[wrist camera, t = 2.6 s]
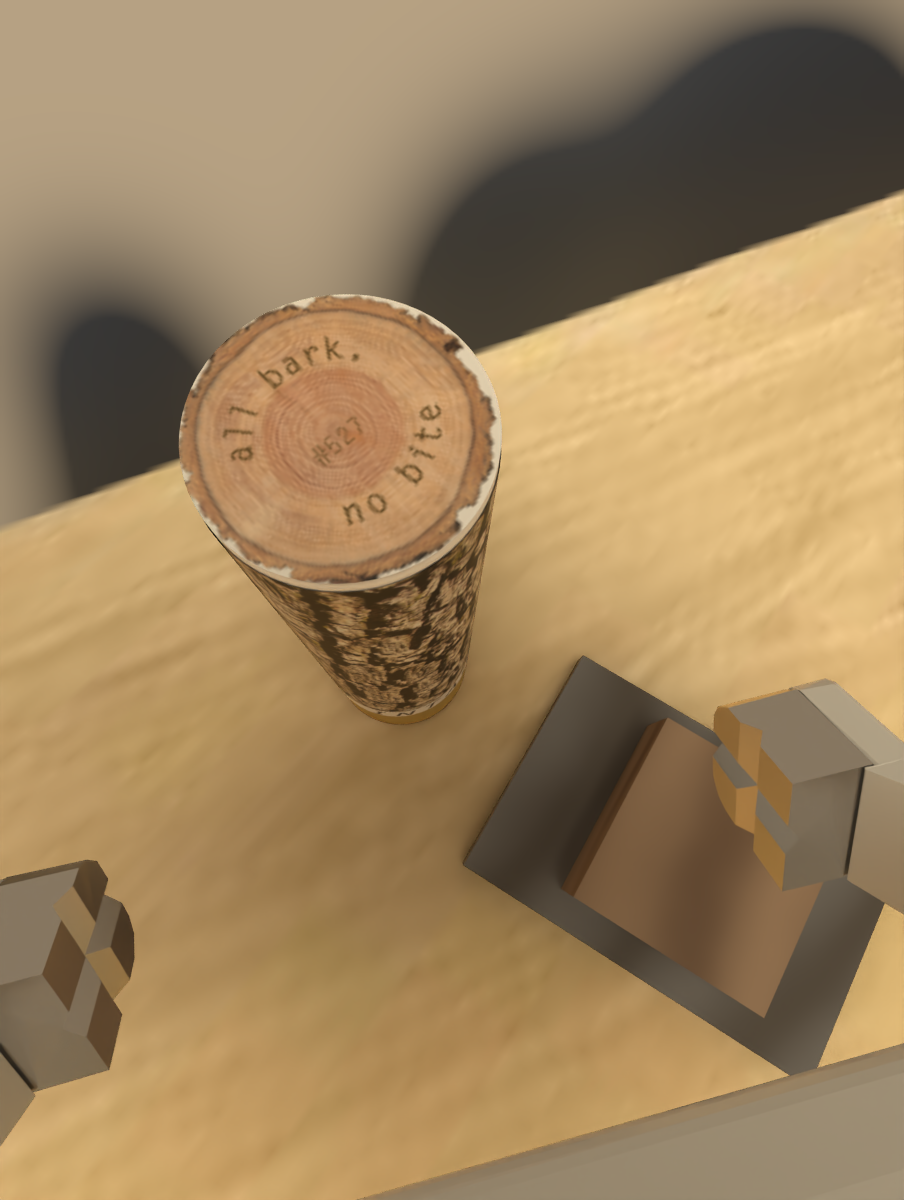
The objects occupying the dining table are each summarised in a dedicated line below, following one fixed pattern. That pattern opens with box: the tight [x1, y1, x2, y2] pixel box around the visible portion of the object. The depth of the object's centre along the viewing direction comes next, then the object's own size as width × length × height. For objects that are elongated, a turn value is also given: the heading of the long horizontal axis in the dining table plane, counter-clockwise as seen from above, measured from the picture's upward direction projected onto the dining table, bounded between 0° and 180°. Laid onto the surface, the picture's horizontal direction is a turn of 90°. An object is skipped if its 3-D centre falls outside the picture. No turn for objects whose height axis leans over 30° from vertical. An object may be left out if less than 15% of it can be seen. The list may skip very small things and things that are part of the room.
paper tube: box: [179, 294, 502, 724], centre depth 27 cm, size 7×7×25 cm
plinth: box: [463, 656, 885, 1076], centre depth 35 cm, size 18×12×5 cm, turn 59°
